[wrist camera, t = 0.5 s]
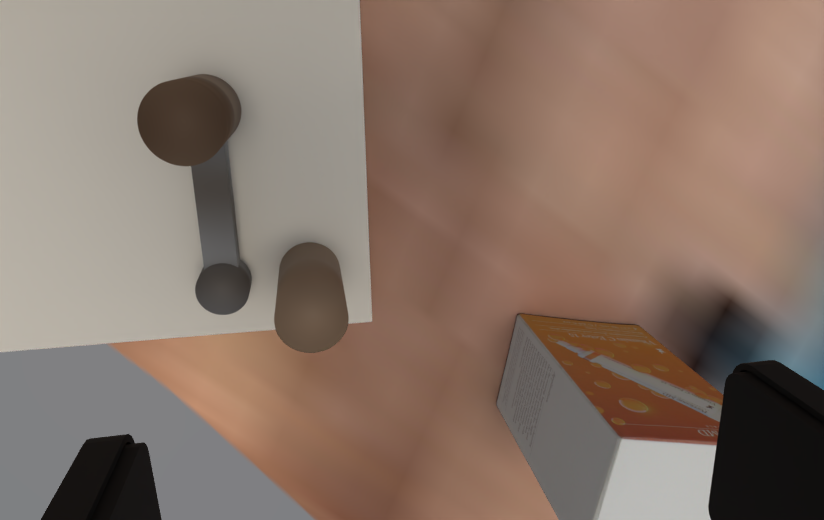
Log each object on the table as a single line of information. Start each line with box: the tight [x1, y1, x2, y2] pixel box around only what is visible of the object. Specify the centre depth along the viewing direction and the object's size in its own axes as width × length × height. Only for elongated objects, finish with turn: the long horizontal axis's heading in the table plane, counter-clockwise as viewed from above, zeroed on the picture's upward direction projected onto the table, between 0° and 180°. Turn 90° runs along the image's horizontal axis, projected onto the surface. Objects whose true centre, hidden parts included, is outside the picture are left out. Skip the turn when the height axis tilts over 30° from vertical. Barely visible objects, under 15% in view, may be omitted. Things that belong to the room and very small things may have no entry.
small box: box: [497, 314, 723, 520], centre depth 32 cm, size 8×6×13 cm
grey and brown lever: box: [137, 74, 252, 315], centre depth 26 cm, size 11×3×6 cm, turn 1°
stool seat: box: [0, 0, 372, 353], centre depth 26 cm, size 22×18×8 cm
